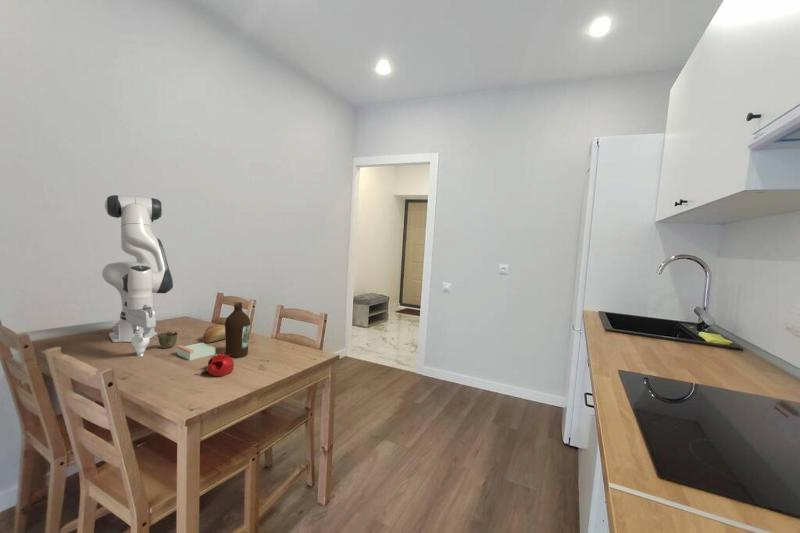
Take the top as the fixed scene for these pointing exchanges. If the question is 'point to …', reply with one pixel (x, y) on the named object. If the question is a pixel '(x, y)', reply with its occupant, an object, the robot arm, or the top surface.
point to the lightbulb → (140, 343)
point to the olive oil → (237, 332)
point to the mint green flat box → (195, 351)
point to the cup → (167, 339)
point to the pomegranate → (220, 365)
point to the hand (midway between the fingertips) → (140, 335)
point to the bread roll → (214, 333)
